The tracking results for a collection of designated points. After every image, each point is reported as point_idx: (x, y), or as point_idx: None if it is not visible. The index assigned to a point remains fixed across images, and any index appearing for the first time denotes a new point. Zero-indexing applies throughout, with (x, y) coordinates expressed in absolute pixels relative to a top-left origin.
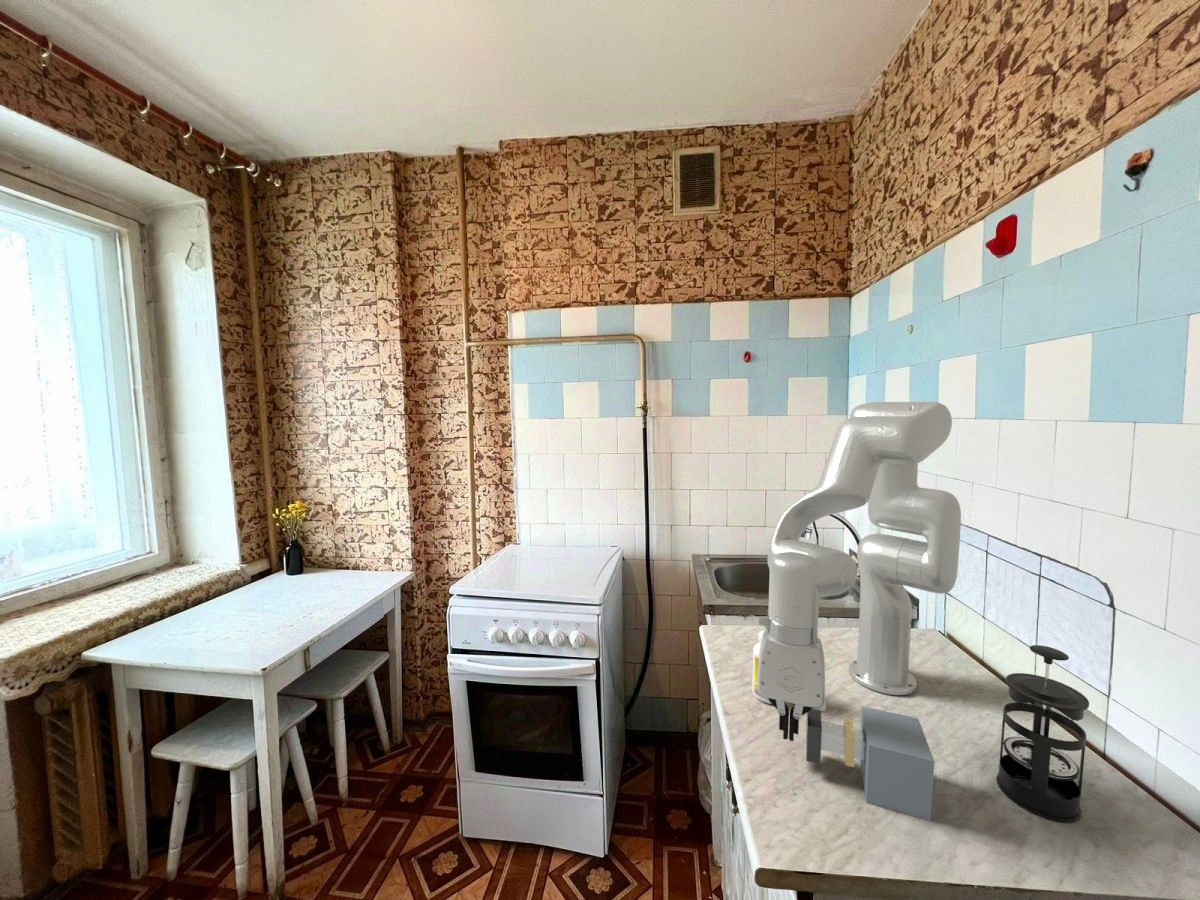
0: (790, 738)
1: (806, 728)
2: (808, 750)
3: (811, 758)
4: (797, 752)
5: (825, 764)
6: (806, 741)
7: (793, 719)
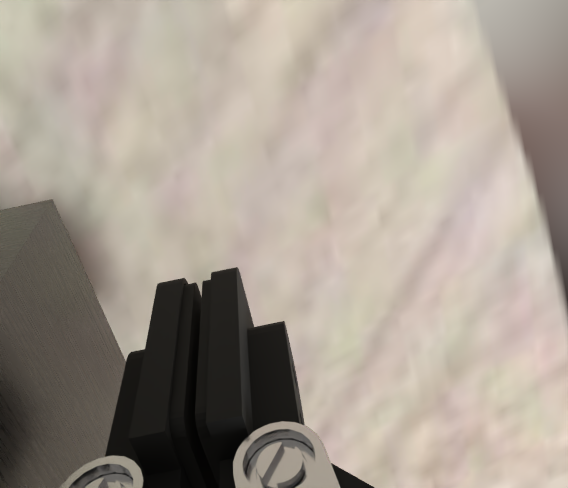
0: (180, 288)
1: None
2: (11, 245)
3: (7, 220)
4: None
5: None
6: (99, 349)
7: (135, 435)
